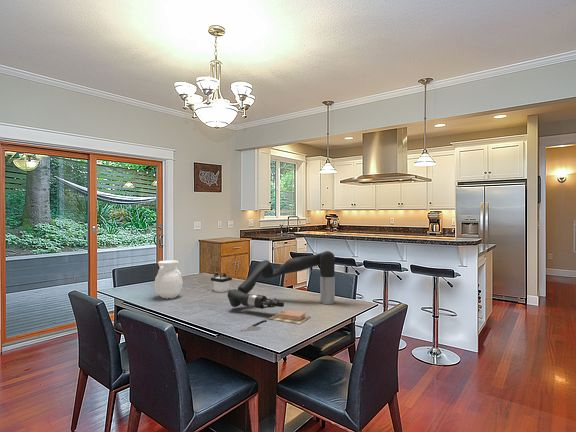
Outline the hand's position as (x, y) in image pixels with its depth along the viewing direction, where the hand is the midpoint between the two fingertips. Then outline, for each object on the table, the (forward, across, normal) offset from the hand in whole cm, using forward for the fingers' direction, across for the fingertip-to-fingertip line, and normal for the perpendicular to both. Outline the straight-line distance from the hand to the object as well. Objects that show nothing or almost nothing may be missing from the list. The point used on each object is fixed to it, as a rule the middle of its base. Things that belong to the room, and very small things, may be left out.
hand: (283, 304), depth 199 cm
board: (+4, 0, +7) cm, 8 cm away
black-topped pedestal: (-74, +37, +8) cm, 83 cm away
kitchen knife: (-4, -24, +8) cm, 26 cm away
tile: (-1, 0, +5) cm, 5 cm away
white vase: (-93, +4, +7) cm, 94 cm away
